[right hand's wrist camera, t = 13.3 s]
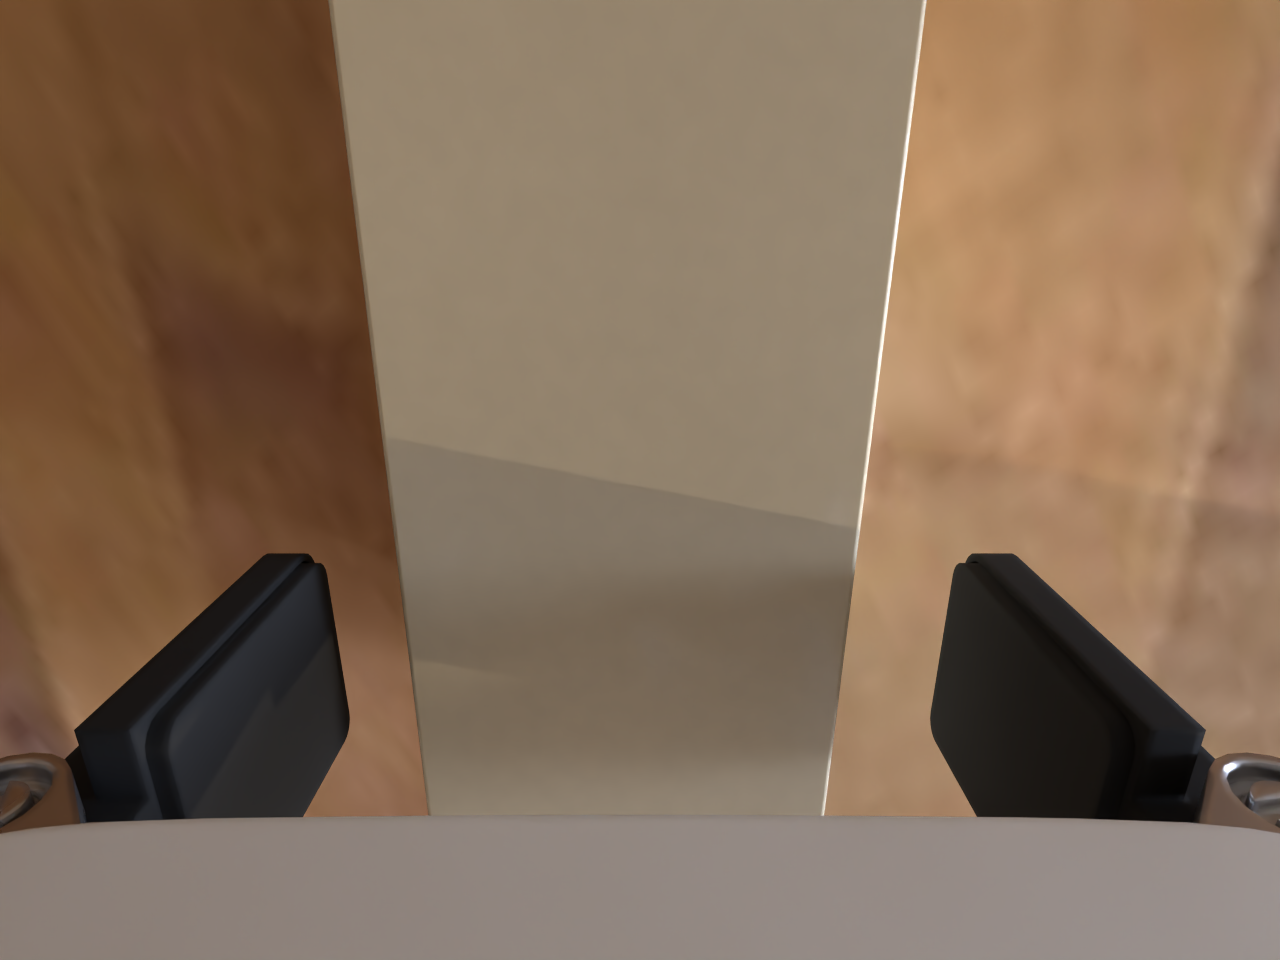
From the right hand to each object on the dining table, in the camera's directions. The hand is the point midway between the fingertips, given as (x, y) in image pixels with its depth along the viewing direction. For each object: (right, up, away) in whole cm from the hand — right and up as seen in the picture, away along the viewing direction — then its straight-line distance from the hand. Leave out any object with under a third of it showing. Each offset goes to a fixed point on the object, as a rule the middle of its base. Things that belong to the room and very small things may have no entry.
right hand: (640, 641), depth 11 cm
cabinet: (0, +9, +5) cm, 10 cm away
